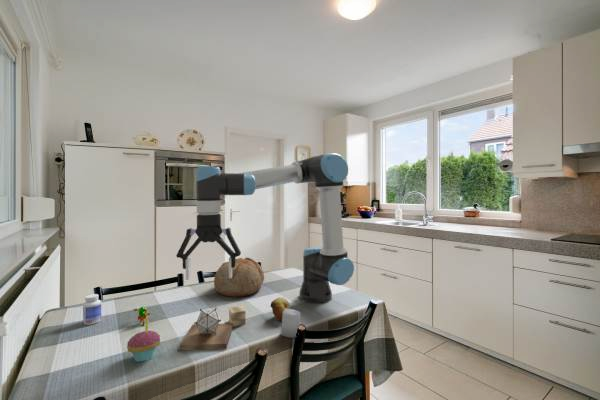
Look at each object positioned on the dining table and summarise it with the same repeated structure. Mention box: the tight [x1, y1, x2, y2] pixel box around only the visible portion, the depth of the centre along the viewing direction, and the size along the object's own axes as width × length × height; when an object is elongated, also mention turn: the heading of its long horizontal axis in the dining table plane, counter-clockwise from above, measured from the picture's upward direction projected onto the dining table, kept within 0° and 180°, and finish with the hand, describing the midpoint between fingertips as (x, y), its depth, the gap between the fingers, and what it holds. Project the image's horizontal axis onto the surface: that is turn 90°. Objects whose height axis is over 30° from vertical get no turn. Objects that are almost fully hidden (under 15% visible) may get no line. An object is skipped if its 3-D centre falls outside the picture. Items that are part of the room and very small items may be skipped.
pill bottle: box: [82, 293, 102, 326], centre depth 105 cm, size 5×5×10 cm
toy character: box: [132, 306, 152, 327], centre depth 105 cm, size 11×12×7 cm
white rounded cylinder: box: [280, 308, 301, 339], centre depth 98 cm, size 6×6×7 cm
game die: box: [193, 307, 222, 337], centre depth 95 cm, size 9×8×10 cm
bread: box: [213, 257, 265, 298], centre depth 144 cm, size 26×23×15 cm
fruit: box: [270, 297, 291, 321], centre depth 110 cm, size 8×8×8 cm
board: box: [179, 322, 234, 351], centre depth 95 cm, size 14×14×2 cm
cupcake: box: [126, 312, 161, 363], centre depth 83 cm, size 9×8×12 cm
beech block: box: [228, 305, 247, 327], centre depth 107 cm, size 5×5×5 cm
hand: (209, 277), depth 95 cm, fingers open, 13 cm apart
